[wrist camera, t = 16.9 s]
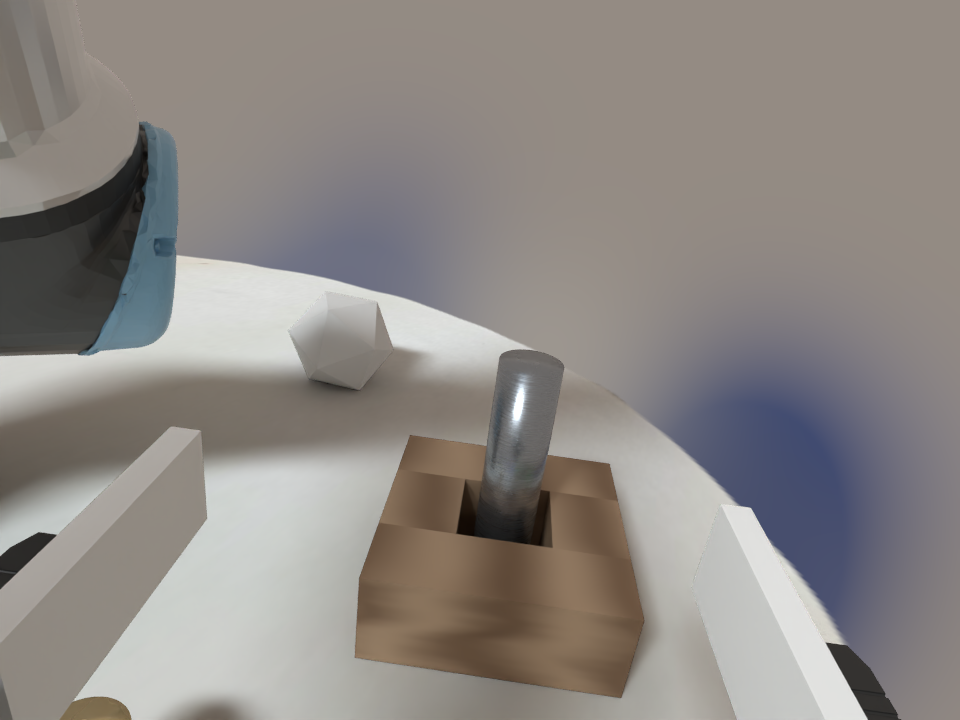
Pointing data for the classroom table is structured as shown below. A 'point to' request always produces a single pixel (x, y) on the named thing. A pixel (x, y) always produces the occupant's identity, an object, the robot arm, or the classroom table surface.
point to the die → (341, 340)
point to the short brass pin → (96, 710)
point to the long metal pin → (517, 444)
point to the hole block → (500, 577)
